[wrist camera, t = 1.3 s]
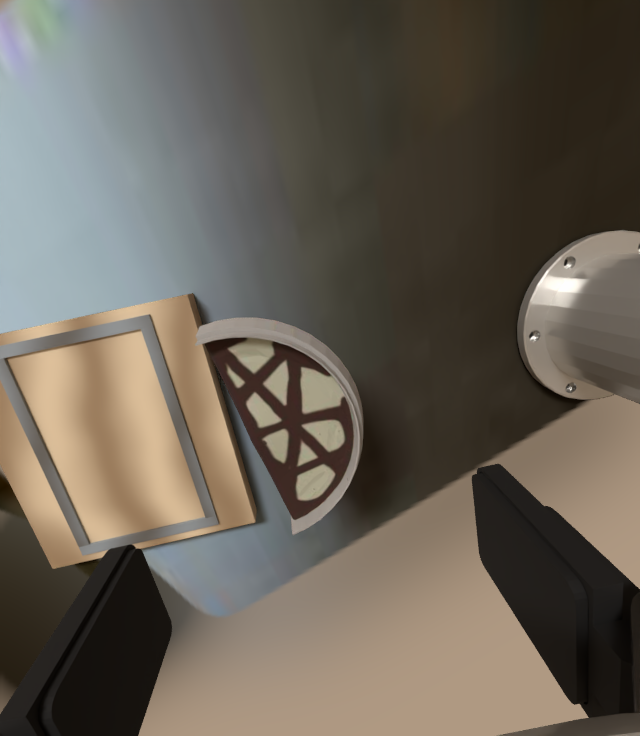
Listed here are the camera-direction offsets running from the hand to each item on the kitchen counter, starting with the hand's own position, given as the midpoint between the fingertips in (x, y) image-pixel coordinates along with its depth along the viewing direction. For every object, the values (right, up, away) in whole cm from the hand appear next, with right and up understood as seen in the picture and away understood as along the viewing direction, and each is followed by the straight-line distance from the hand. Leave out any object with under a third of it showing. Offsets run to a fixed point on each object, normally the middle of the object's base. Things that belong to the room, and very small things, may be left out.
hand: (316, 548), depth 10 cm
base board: (-15, 0, +18) cm, 23 cm away
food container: (-1, +5, +18) cm, 18 cm away
